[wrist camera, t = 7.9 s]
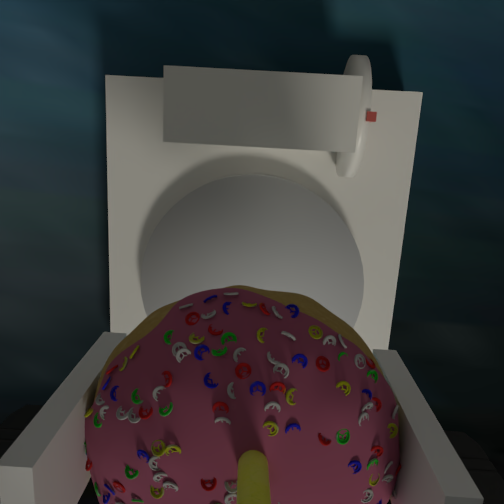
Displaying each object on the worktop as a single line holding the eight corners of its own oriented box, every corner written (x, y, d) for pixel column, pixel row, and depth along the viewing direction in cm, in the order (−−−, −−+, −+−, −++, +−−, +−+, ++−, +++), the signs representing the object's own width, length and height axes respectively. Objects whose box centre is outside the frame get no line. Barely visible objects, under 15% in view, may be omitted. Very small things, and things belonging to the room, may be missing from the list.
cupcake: (159, 220, 16) (-128, 456, 4) (399, 281, 16) (733, 654, 5) (115, 434, 18) (-157, 976, 6) (329, 484, 18) (436, 1092, 7)
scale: (125, 355, 31) (79, 429, 23) (122, 56, 26) (63, 24, 19) (370, 370, 31) (406, 450, 23) (408, 72, 26) (469, 46, 18)
